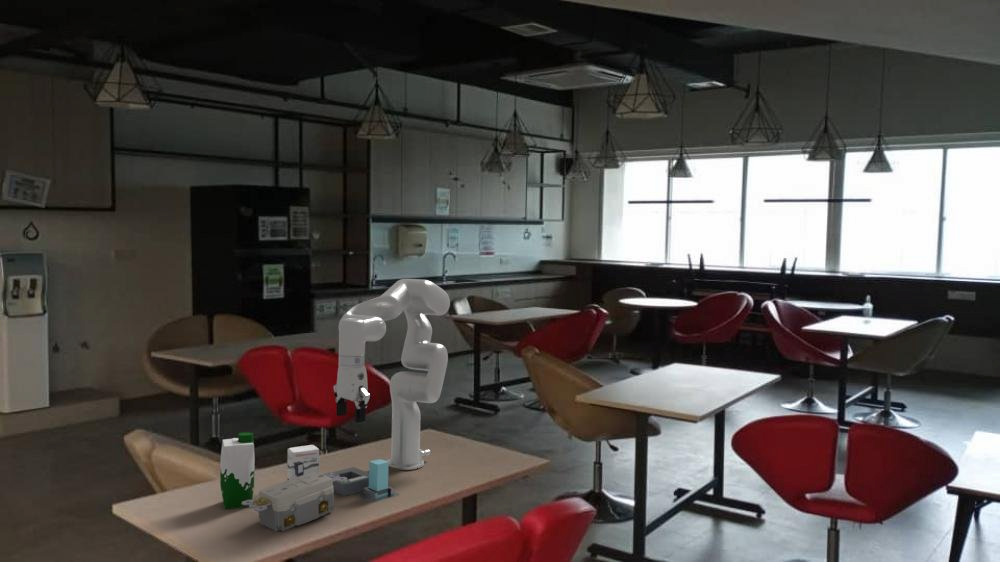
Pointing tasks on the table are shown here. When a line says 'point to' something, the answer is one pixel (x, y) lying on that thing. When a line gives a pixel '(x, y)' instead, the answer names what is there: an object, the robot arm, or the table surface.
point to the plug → (378, 477)
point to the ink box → (302, 461)
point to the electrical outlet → (295, 500)
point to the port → (351, 481)
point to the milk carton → (237, 470)
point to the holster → (376, 494)
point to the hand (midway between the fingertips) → (350, 418)
